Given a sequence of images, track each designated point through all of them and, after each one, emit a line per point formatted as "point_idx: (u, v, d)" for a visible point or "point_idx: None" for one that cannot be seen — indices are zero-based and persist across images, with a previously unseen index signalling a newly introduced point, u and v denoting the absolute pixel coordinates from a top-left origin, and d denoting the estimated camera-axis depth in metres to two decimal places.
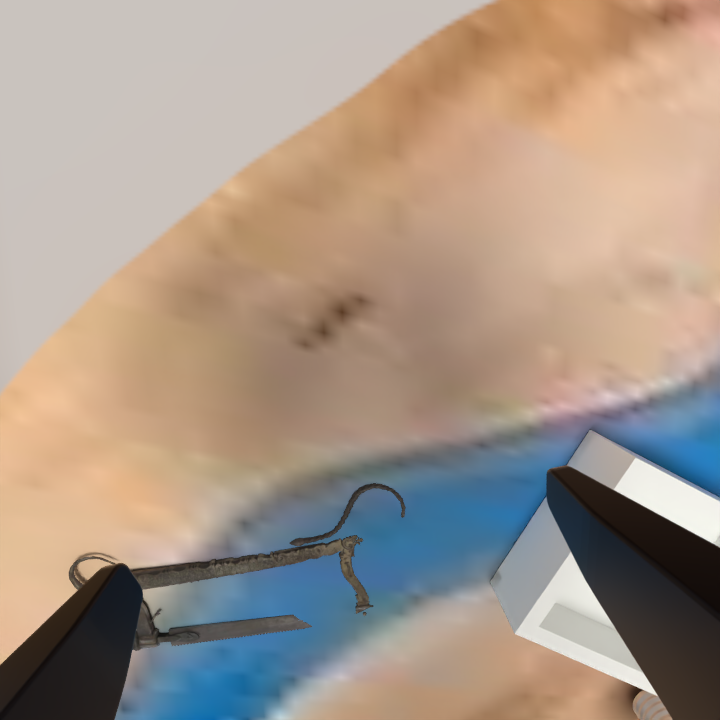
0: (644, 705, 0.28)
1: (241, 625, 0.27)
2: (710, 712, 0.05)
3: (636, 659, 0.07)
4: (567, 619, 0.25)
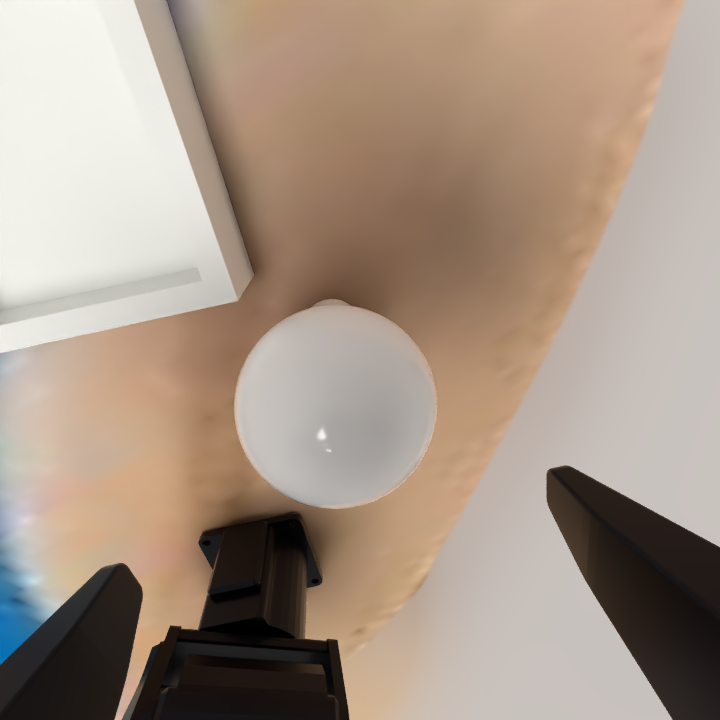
0: None
1: None
2: (710, 712, 0.05)
3: (636, 659, 0.07)
4: (54, 304, 0.17)
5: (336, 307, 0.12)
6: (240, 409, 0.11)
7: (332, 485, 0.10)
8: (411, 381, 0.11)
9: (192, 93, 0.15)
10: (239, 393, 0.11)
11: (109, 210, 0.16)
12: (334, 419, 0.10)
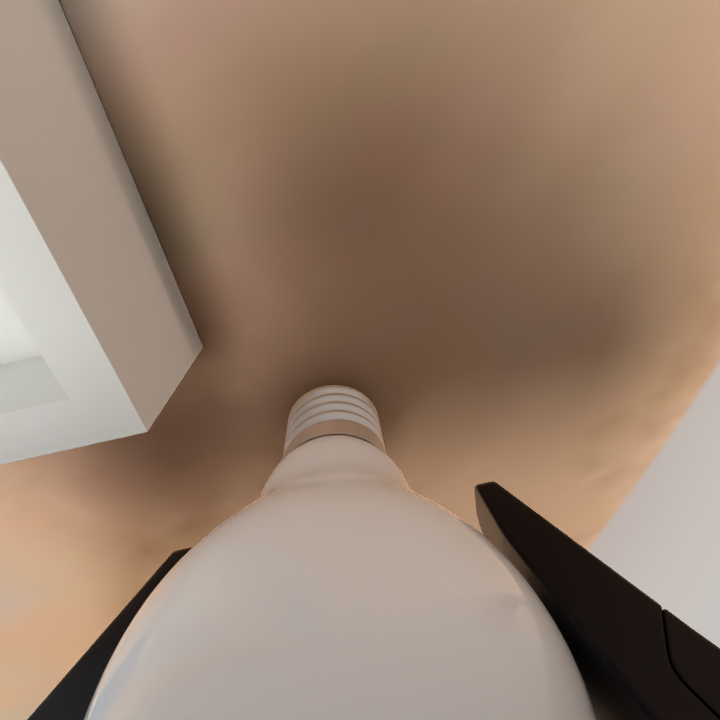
0: None
1: None
2: None
3: None
4: None
5: (342, 545, 0.04)
6: None
7: None
8: None
9: (53, 20, 0.08)
10: None
11: None
12: None
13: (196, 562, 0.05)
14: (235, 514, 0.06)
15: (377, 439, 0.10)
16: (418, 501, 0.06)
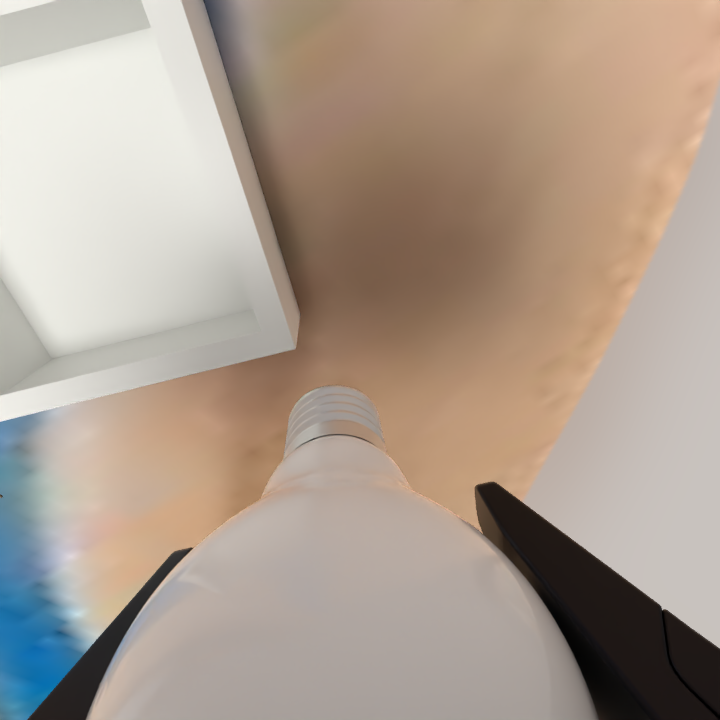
0: None
1: None
2: None
3: None
4: (109, 353, 0.17)
5: (344, 546, 0.04)
6: None
7: None
8: None
9: (245, 143, 0.15)
10: None
11: (162, 259, 0.16)
12: None
13: (198, 562, 0.05)
14: (236, 514, 0.06)
15: (378, 439, 0.10)
16: (419, 501, 0.06)
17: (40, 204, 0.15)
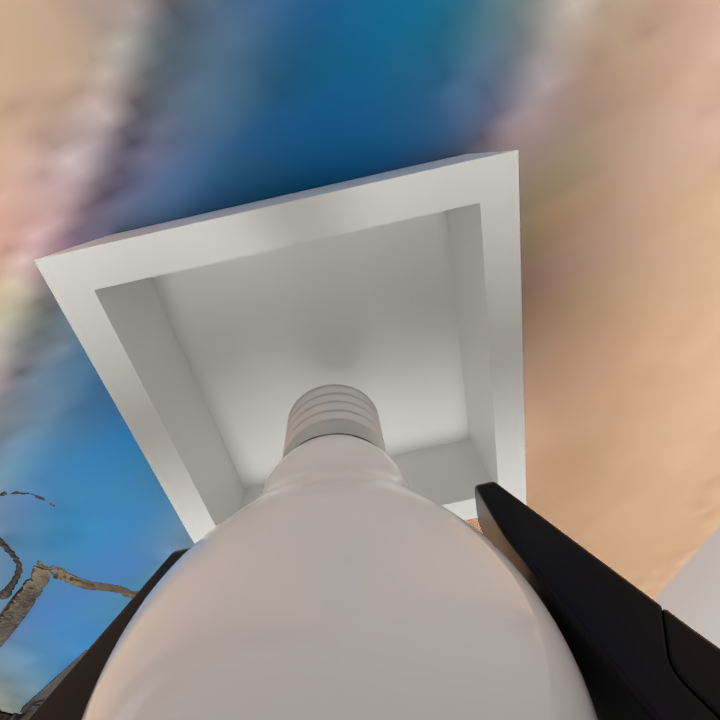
0: None
1: None
2: None
3: None
4: None
5: (341, 545, 0.04)
6: None
7: None
8: None
9: None
10: None
11: (375, 400, 0.16)
12: None
13: (194, 562, 0.05)
14: (234, 513, 0.06)
15: (377, 438, 0.10)
16: (418, 501, 0.06)
17: (269, 355, 0.15)
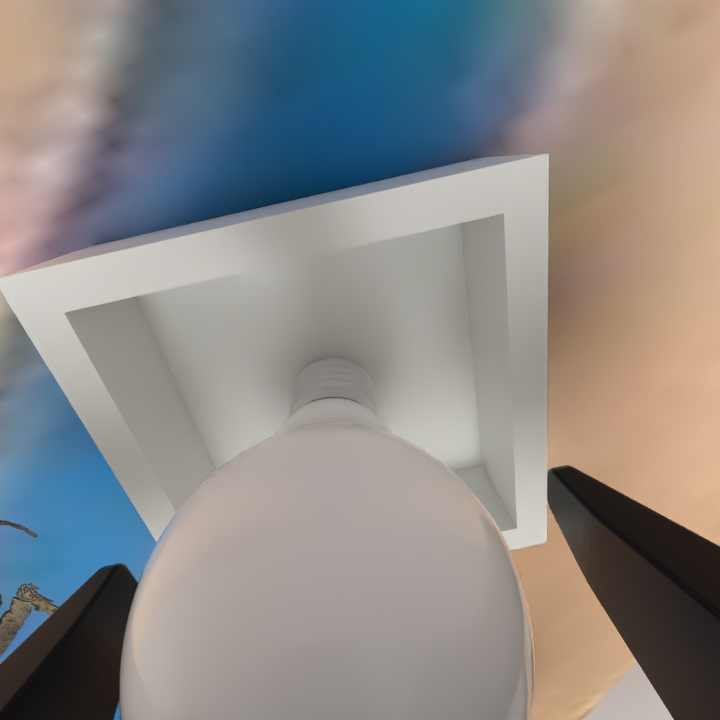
0: None
1: None
2: (711, 712, 0.05)
3: (637, 659, 0.07)
4: None
5: (335, 457, 0.06)
6: (120, 695, 0.05)
7: None
8: (502, 669, 0.05)
9: None
10: (122, 652, 0.05)
11: None
12: None
13: (223, 472, 0.06)
14: None
15: (371, 404, 0.11)
16: (398, 438, 0.07)
17: (266, 376, 0.14)
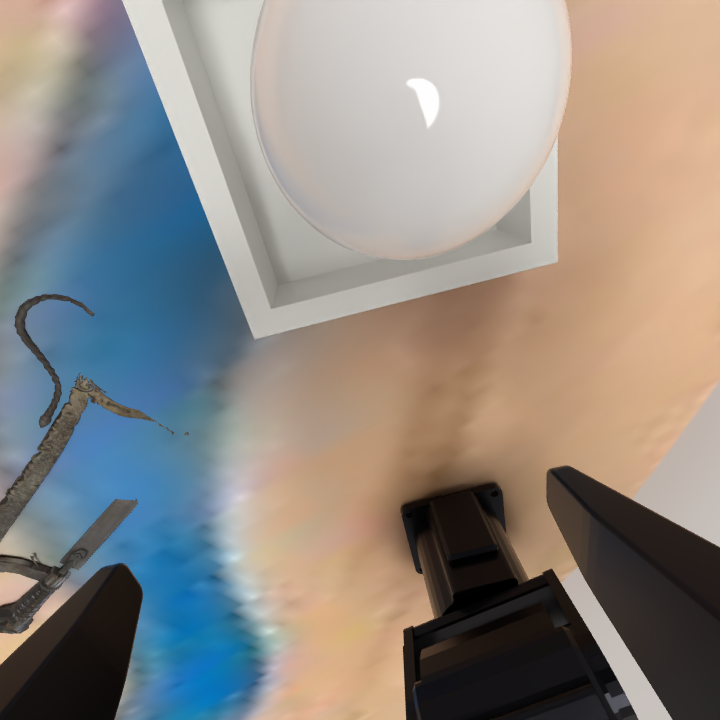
0: None
1: (104, 519, 0.24)
2: (710, 712, 0.05)
3: (636, 659, 0.07)
4: (350, 274, 0.17)
5: None
6: (263, 38, 0.07)
7: (427, 127, 0.06)
8: None
9: None
10: (260, 20, 0.07)
11: None
12: None
13: None
14: None
15: None
16: None
17: None
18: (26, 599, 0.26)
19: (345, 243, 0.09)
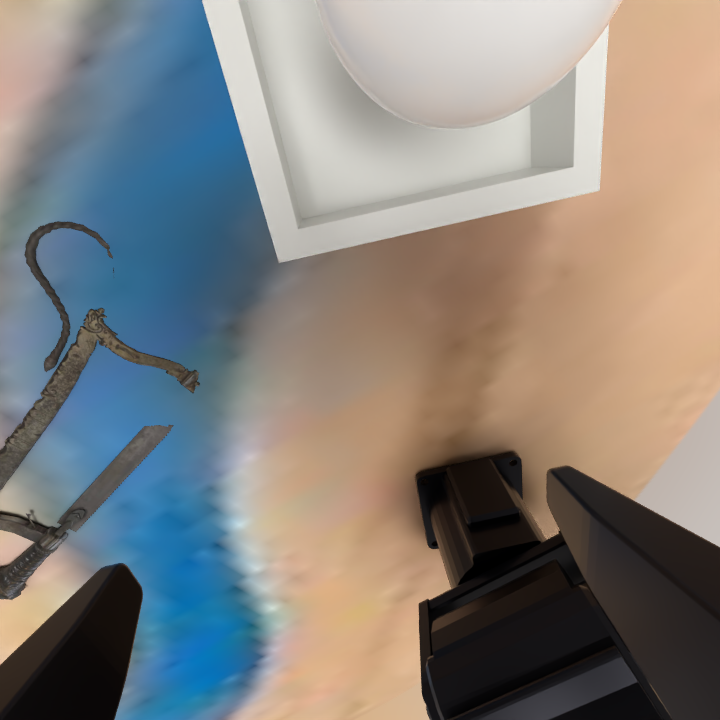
0: None
1: (106, 476, 0.23)
2: (710, 712, 0.05)
3: (636, 659, 0.07)
4: (380, 204, 0.16)
5: None
6: None
7: None
8: None
9: None
10: None
11: None
12: None
13: None
14: None
15: None
16: None
17: None
18: (19, 561, 0.24)
19: (400, 87, 0.08)
